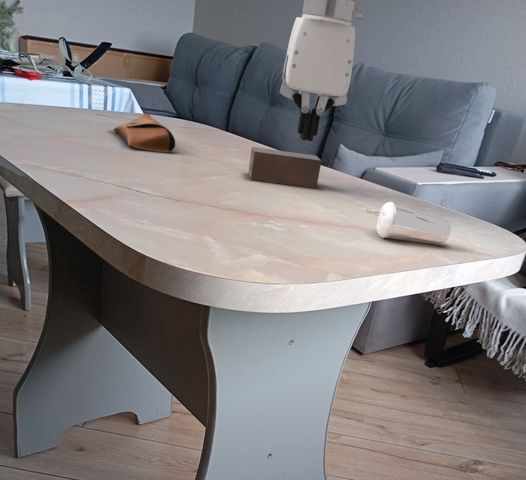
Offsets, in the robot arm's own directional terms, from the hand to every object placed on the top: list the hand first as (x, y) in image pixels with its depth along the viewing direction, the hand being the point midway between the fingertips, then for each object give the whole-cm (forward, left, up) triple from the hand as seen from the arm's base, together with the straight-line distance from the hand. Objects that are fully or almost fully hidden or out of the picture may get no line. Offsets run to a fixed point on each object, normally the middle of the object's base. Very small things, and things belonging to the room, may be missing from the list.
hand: (305, 139), depth 100 cm
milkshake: (-15, +28, -6) cm, 32 cm away
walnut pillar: (-3, 0, -5) cm, 6 cm away
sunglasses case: (+27, -20, -7) cm, 34 cm away
